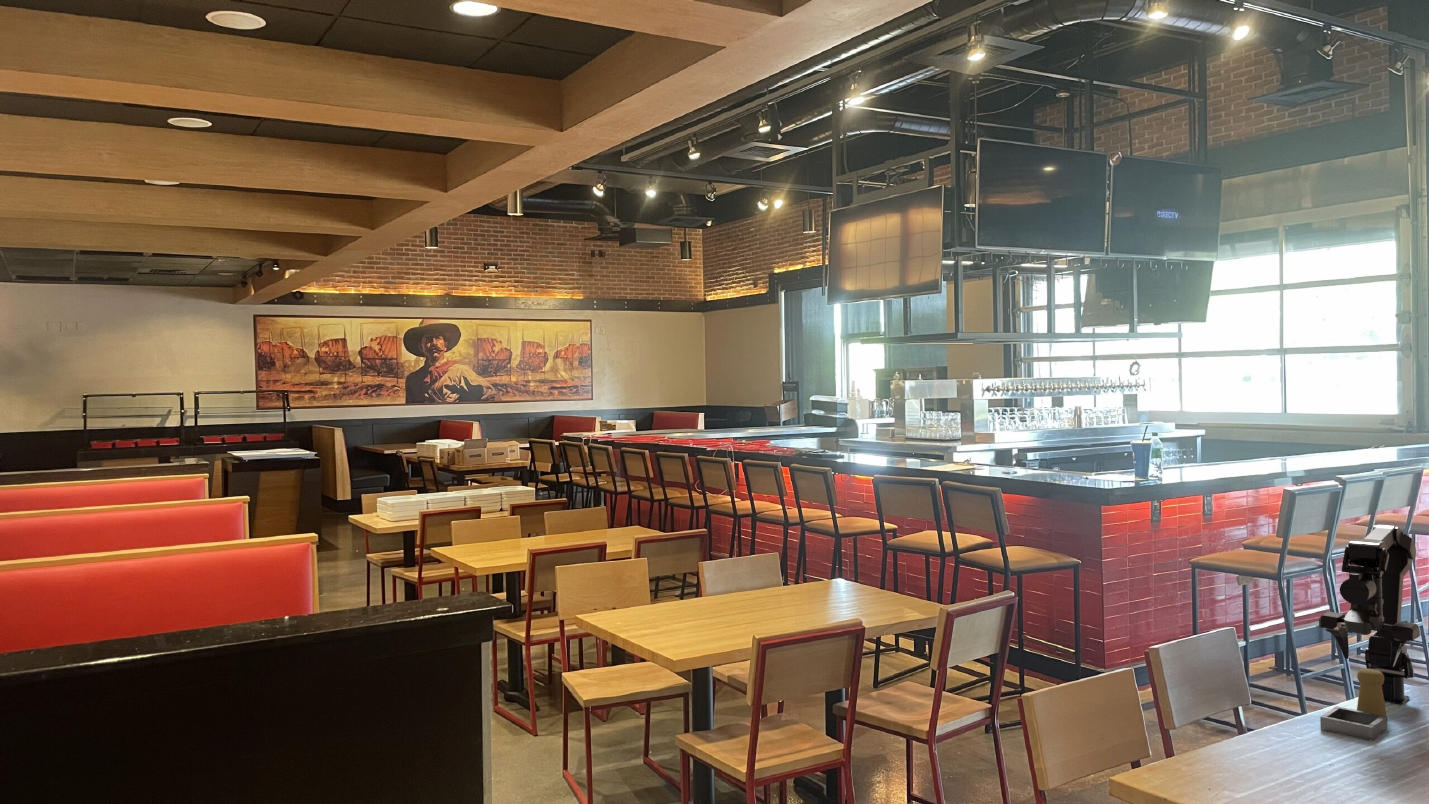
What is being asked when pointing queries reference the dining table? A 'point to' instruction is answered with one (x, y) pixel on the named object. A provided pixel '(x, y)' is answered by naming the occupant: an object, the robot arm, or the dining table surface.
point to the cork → (1371, 692)
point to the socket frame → (1353, 723)
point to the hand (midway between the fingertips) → (1369, 662)
